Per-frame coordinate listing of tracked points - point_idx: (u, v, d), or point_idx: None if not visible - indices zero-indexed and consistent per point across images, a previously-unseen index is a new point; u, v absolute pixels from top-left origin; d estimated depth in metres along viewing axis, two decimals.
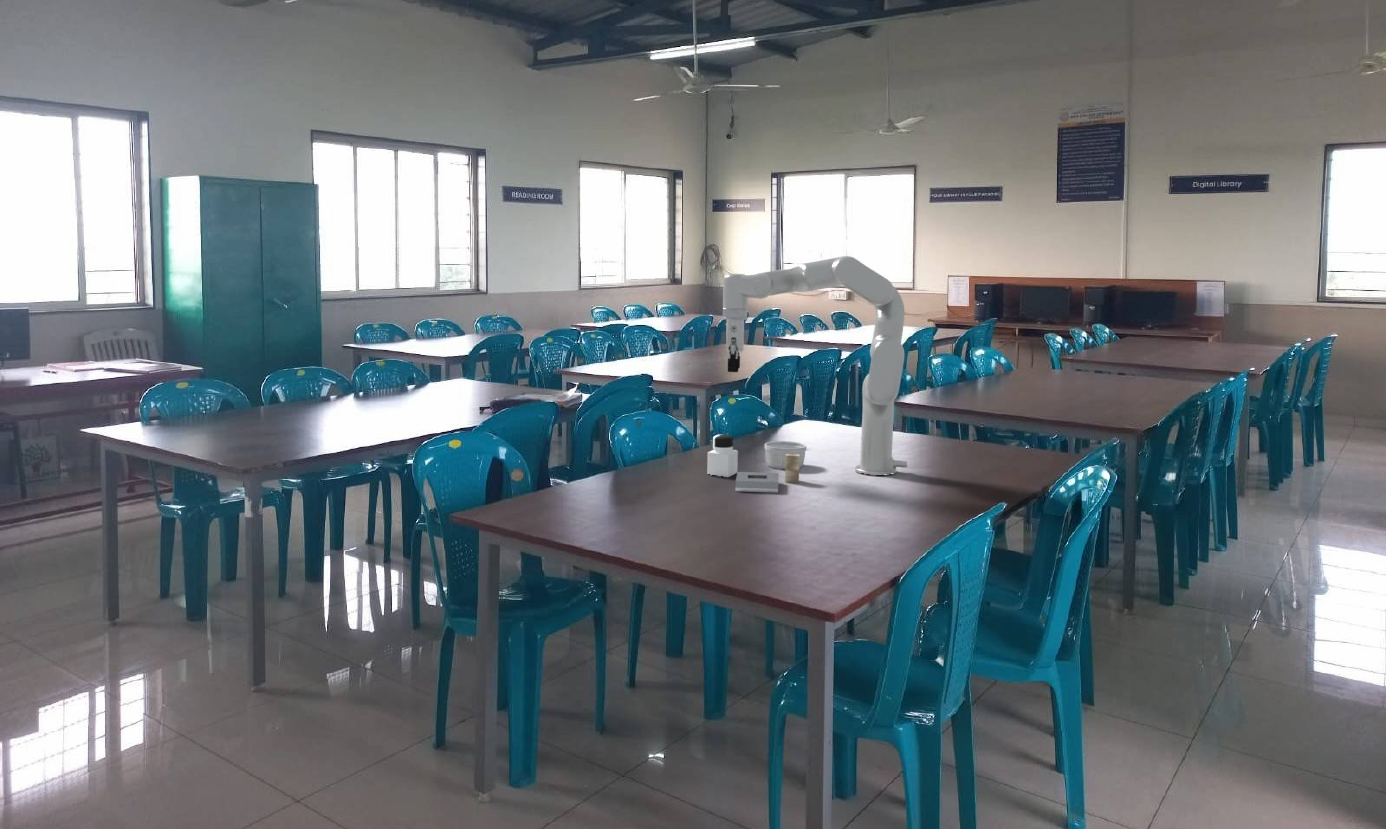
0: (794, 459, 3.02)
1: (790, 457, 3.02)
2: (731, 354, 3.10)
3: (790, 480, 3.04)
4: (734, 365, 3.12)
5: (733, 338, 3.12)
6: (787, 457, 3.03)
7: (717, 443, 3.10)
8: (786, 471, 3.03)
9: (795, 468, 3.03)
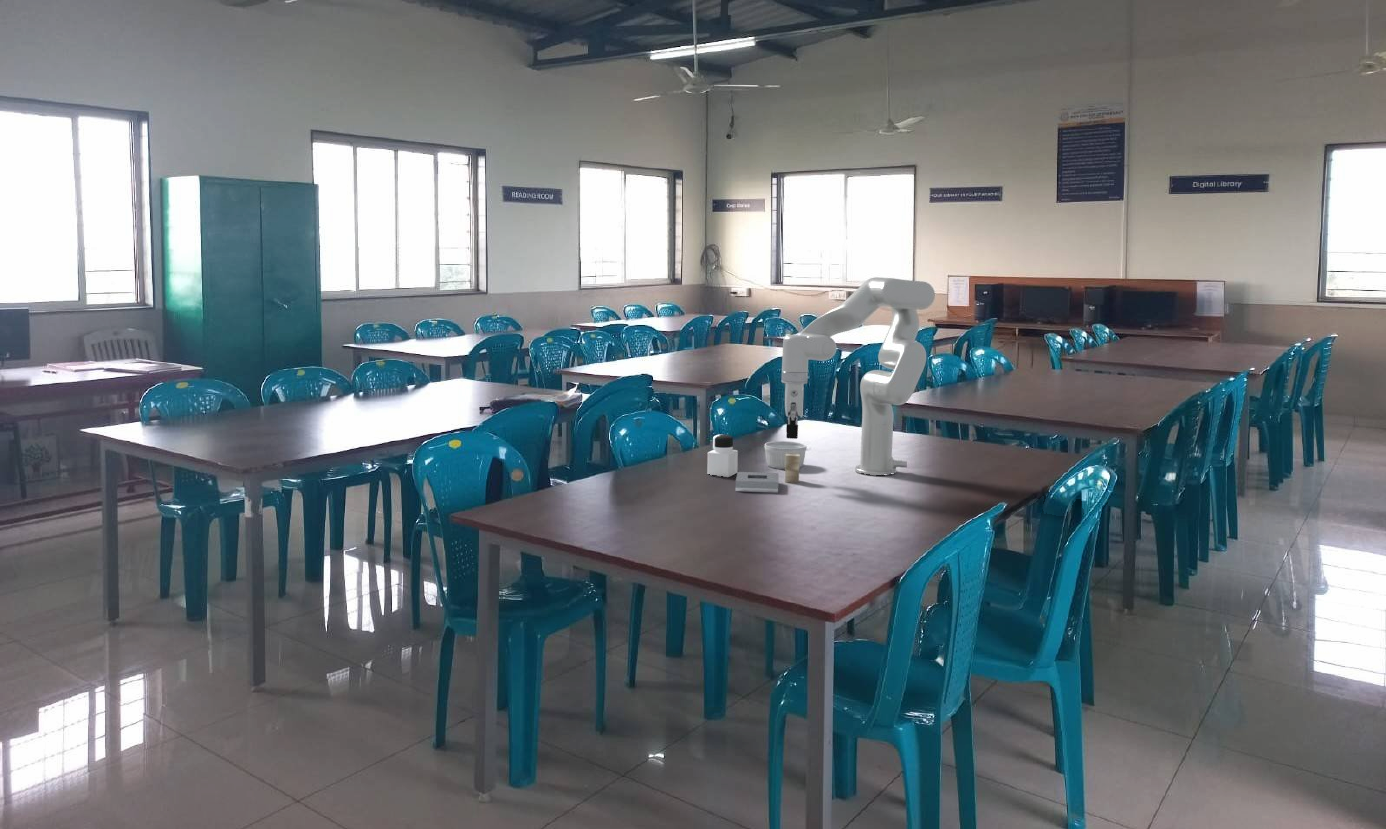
0: (794, 459, 3.02)
1: (790, 457, 3.02)
2: (791, 420, 2.95)
3: (790, 480, 3.04)
4: (793, 431, 2.97)
5: (793, 403, 2.96)
6: (787, 457, 3.03)
7: (717, 443, 3.10)
8: (786, 471, 3.03)
9: (795, 468, 3.03)
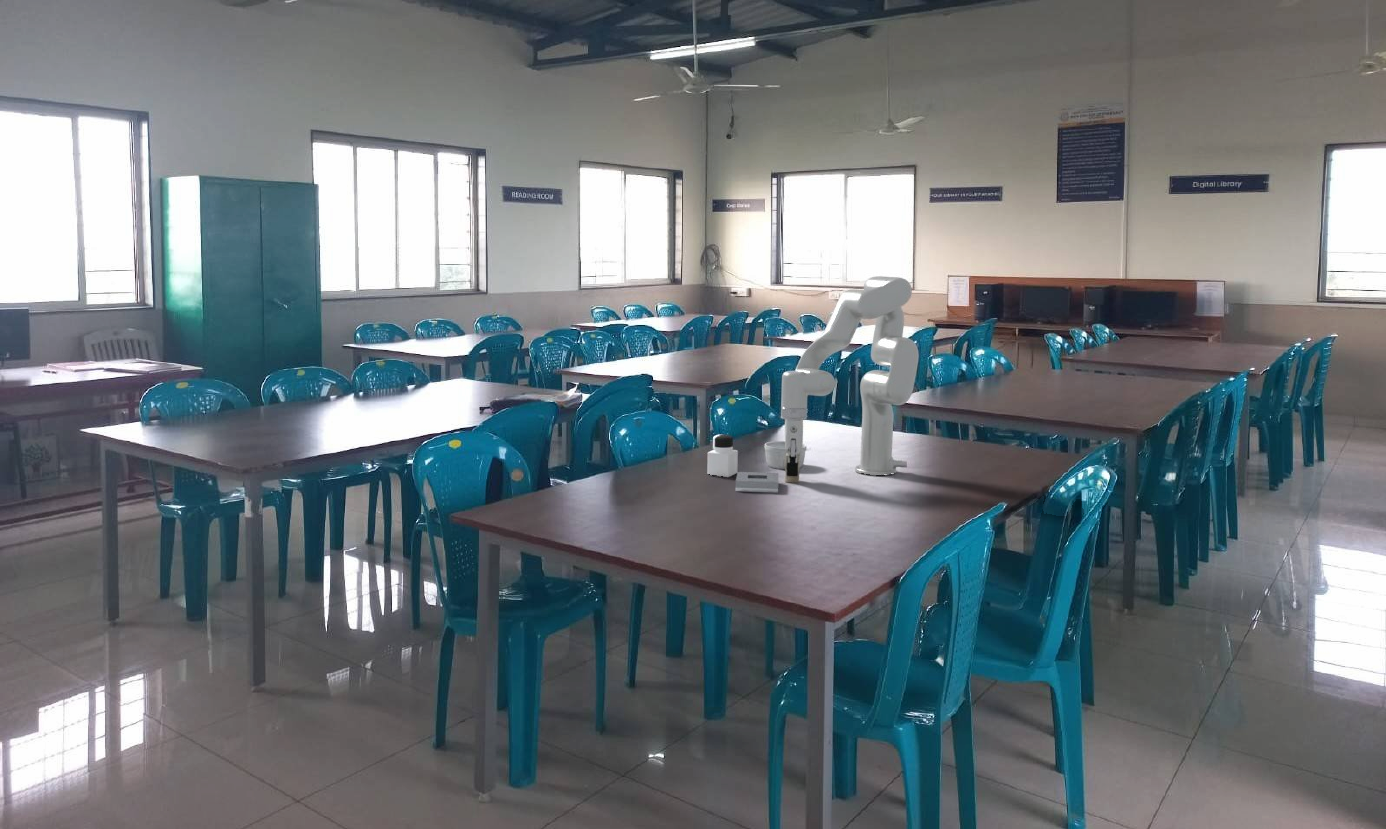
0: None
1: None
2: (791, 459, 3.00)
3: (790, 480, 3.04)
4: (794, 469, 3.02)
5: (793, 442, 2.98)
6: (787, 457, 3.03)
7: (717, 443, 3.10)
8: (786, 471, 3.03)
9: None
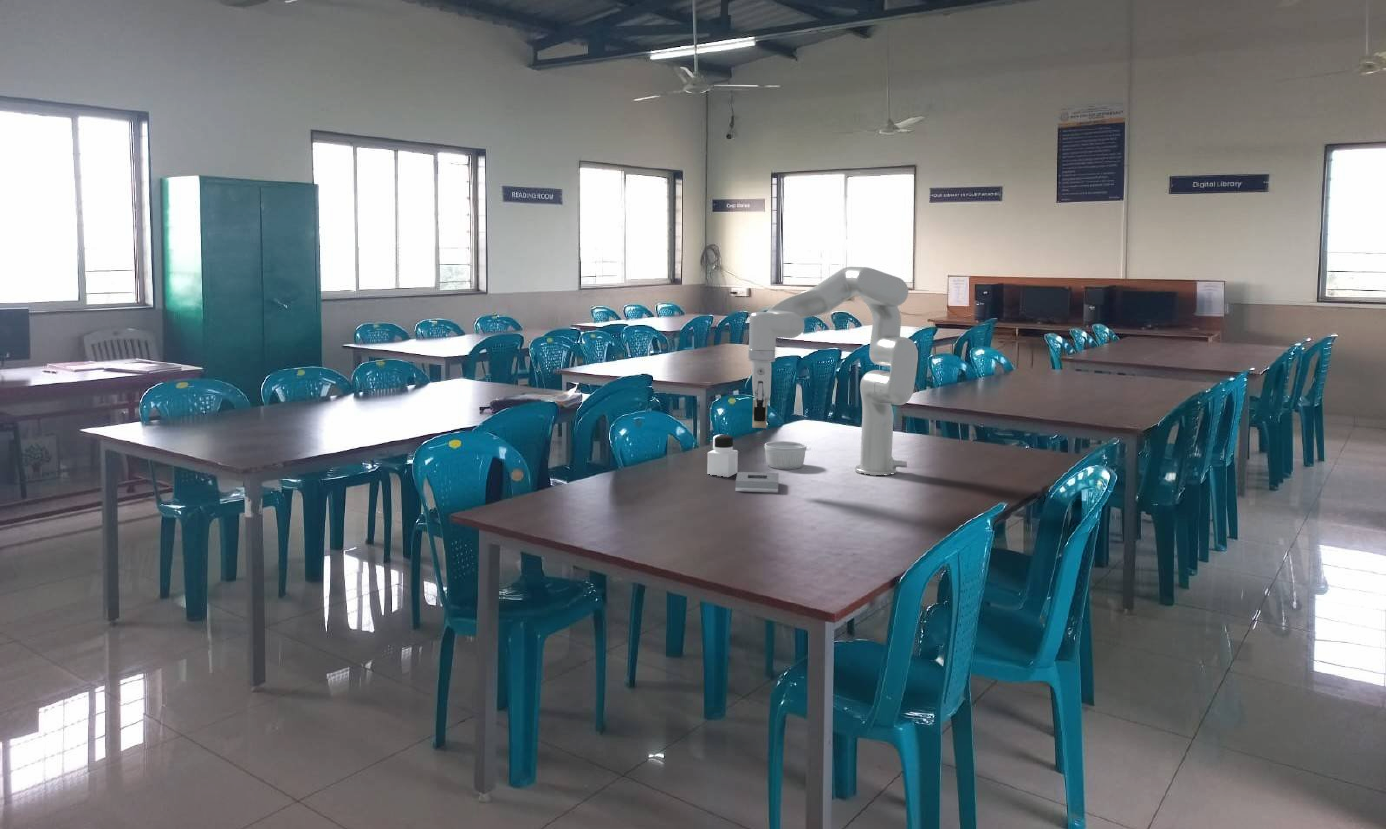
0: None
1: None
2: (758, 402, 2.89)
3: (757, 425, 2.93)
4: (761, 414, 2.91)
5: (760, 385, 2.88)
6: (754, 401, 2.92)
7: (717, 443, 3.10)
8: (753, 416, 2.93)
9: None
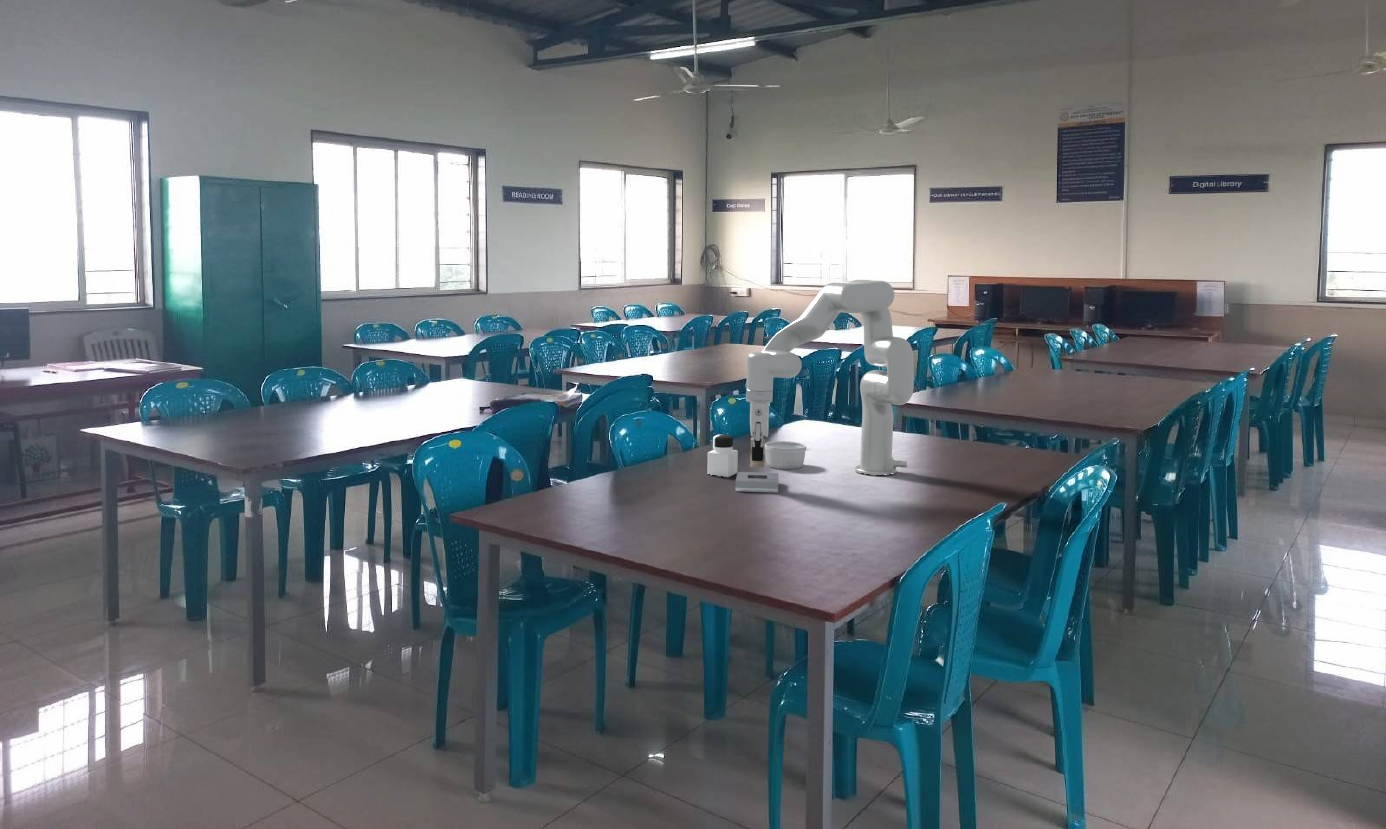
0: None
1: None
2: (756, 443, 2.91)
3: (755, 465, 2.94)
4: (759, 454, 2.93)
5: (758, 425, 2.89)
6: (752, 441, 2.94)
7: (717, 443, 3.10)
8: (751, 455, 2.94)
9: None
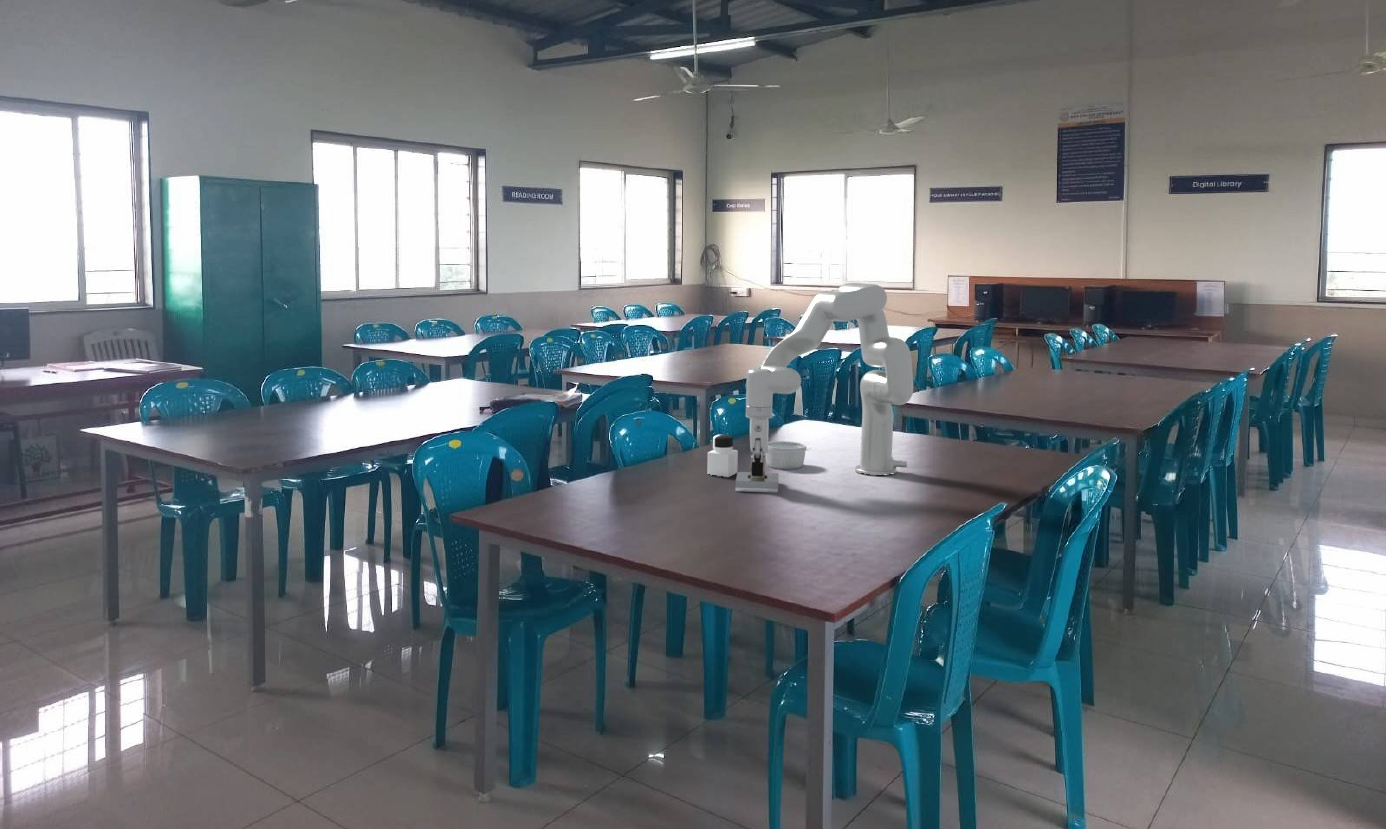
0: (760, 461, 2.94)
1: None
2: (756, 458, 2.89)
3: None
4: (759, 469, 2.91)
5: (757, 440, 2.90)
6: (752, 459, 2.94)
7: (717, 443, 3.10)
8: (751, 473, 2.95)
9: None
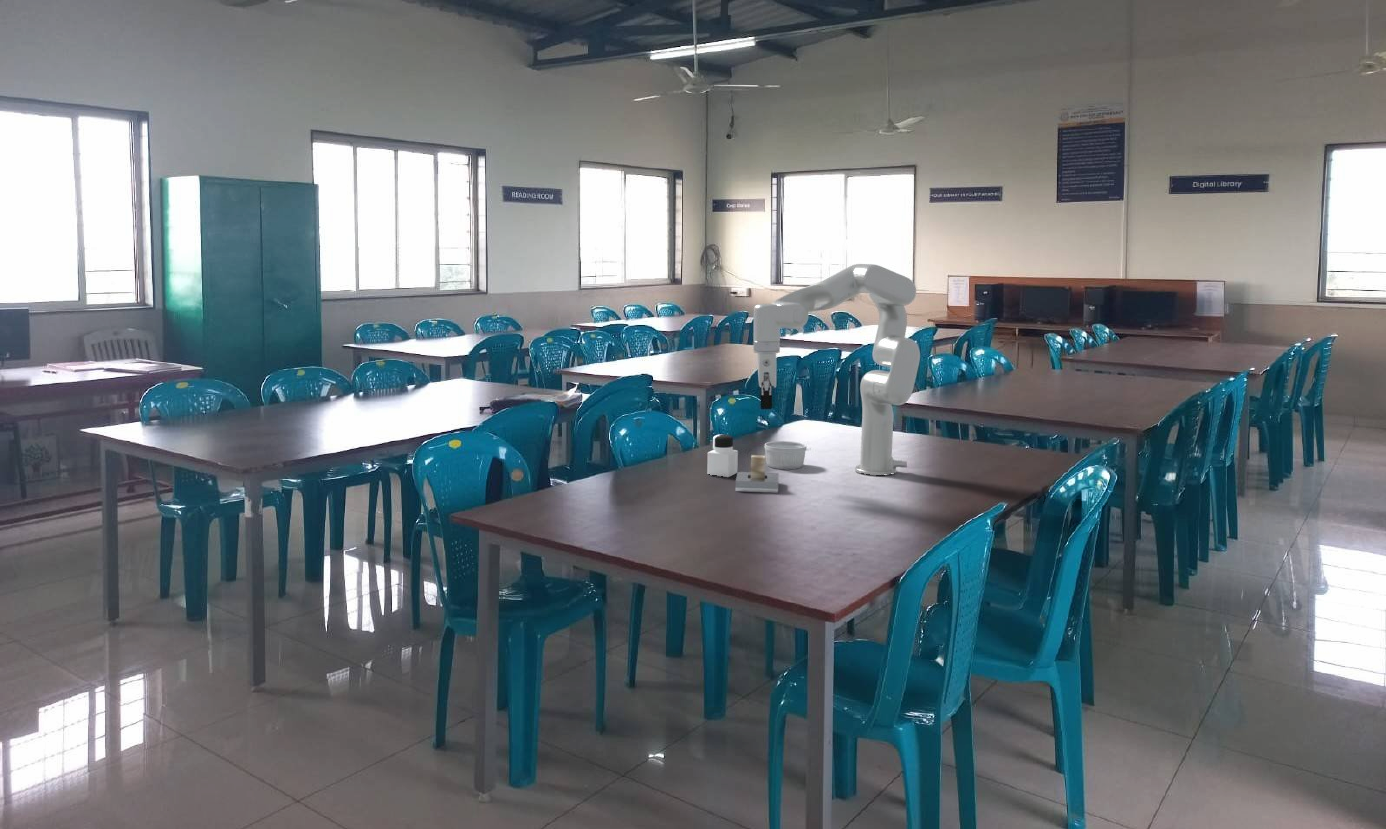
0: (760, 461, 2.94)
1: (755, 459, 2.94)
2: (764, 390, 2.89)
3: None
4: (768, 402, 2.91)
5: (766, 373, 2.91)
6: (752, 459, 2.94)
7: (717, 443, 3.10)
8: (751, 473, 2.95)
9: (761, 470, 2.95)
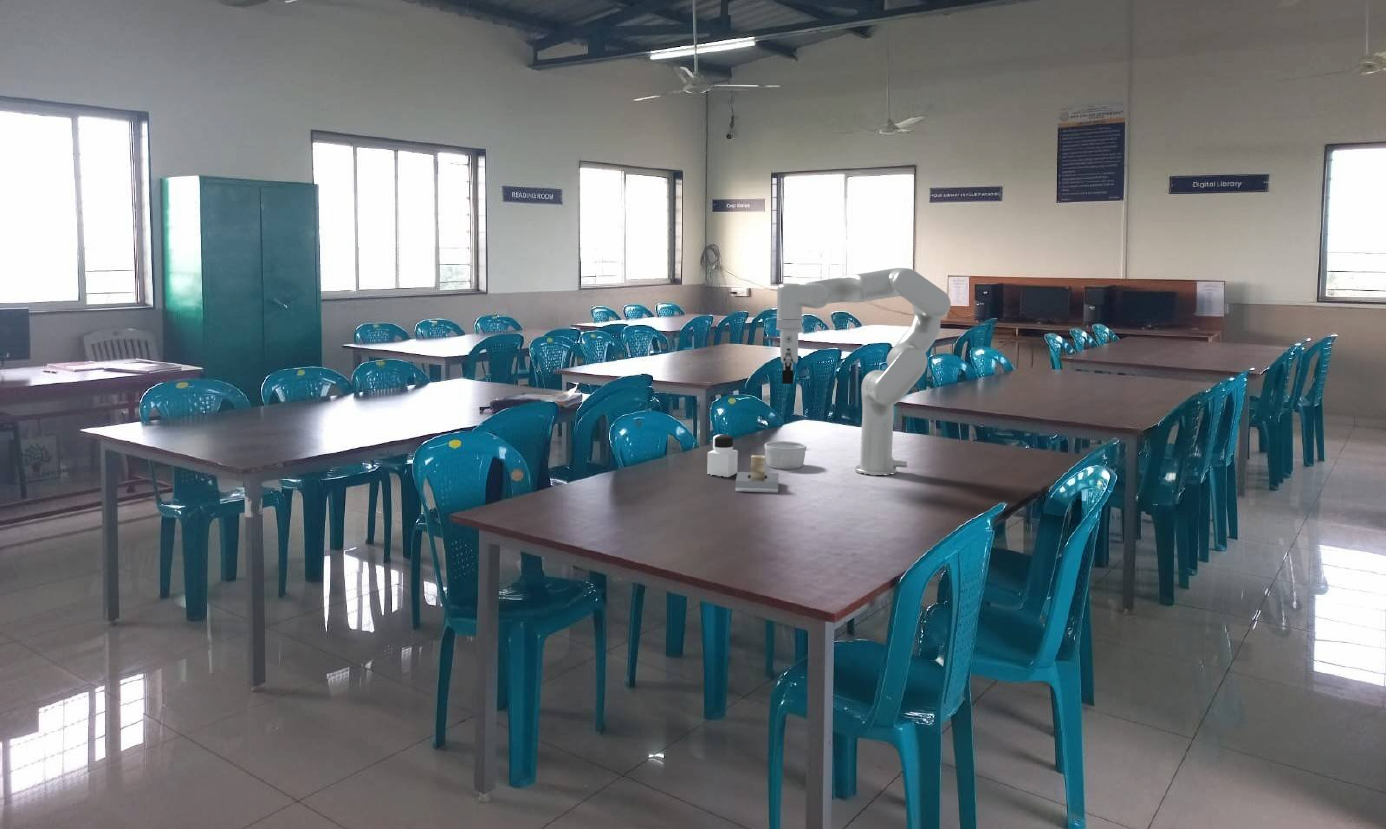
0: (760, 461, 2.94)
1: (755, 459, 2.94)
2: (786, 365, 3.04)
3: None
4: (789, 377, 3.06)
5: (788, 349, 3.05)
6: (752, 459, 2.94)
7: (717, 443, 3.10)
8: (751, 473, 2.95)
9: (761, 470, 2.95)
